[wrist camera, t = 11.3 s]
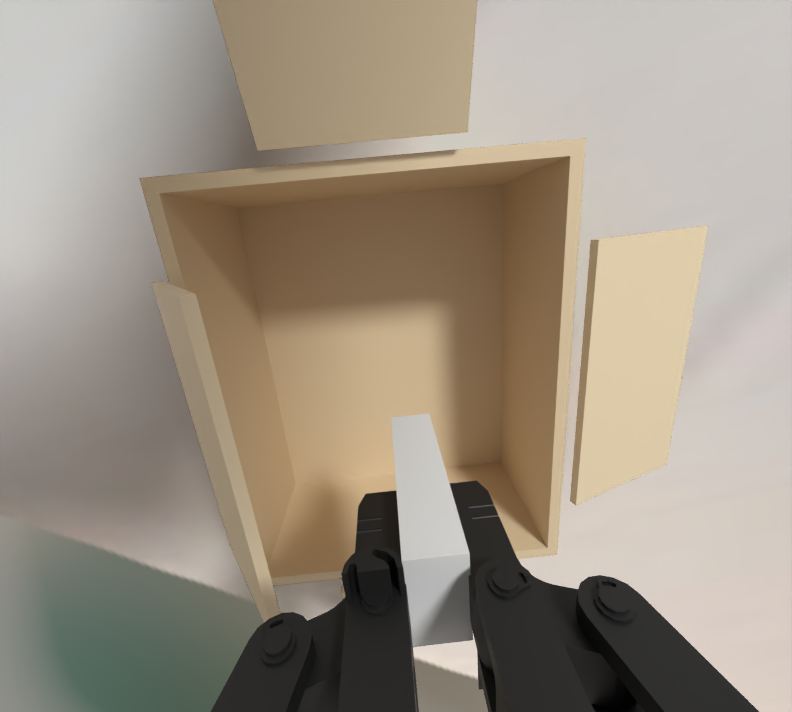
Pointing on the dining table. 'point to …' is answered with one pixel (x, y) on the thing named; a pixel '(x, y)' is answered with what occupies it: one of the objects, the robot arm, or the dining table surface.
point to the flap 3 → (633, 354)
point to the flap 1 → (215, 437)
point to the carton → (385, 329)
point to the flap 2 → (350, 68)
